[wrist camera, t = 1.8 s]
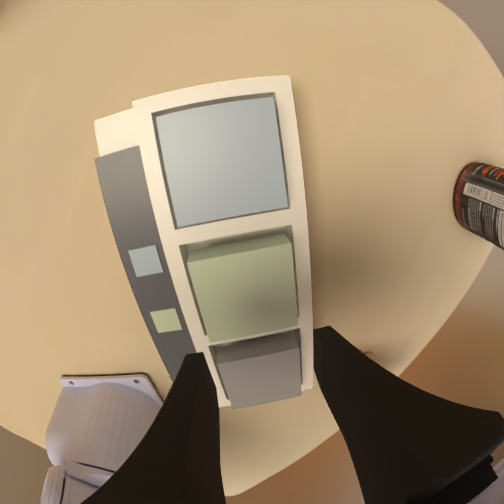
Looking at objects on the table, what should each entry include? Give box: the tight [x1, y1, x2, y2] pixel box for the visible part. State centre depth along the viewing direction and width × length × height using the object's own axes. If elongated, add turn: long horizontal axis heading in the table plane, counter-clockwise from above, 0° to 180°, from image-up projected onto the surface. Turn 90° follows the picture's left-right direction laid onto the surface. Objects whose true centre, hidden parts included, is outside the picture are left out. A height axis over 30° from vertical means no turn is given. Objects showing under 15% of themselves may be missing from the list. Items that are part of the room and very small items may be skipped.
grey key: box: [216, 333, 301, 409], centre depth 17 cm, size 5×5×1 cm
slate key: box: [156, 97, 288, 227], centre depth 12 cm, size 5×5×1 cm
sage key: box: [187, 233, 298, 343], centre depth 14 cm, size 5×5×1 cm
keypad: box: [94, 75, 313, 407], centre depth 16 cm, size 10×20×3 cm, turn 8°
